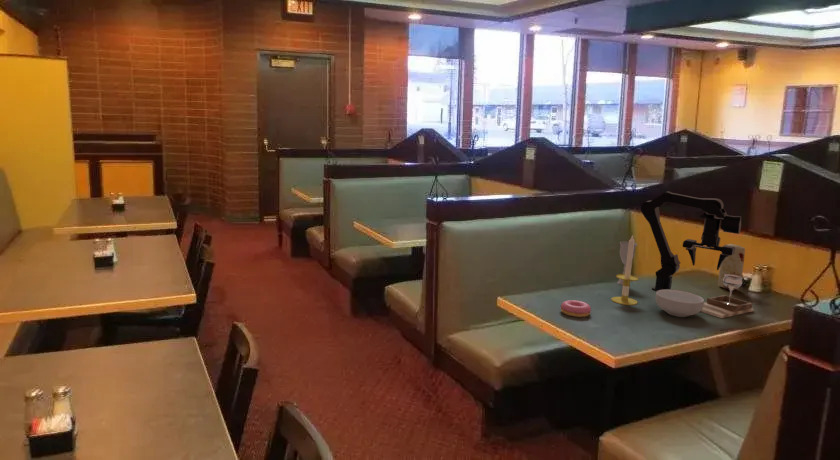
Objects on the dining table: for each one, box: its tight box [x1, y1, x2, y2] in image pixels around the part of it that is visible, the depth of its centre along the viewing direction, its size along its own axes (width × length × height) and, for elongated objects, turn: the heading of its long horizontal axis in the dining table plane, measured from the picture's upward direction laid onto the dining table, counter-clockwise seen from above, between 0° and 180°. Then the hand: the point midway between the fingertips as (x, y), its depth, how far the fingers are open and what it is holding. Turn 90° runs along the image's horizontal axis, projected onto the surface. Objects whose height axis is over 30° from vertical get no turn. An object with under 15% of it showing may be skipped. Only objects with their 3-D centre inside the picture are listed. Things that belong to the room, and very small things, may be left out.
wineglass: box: [723, 274, 744, 306], centre depth 247 cm, size 7×7×12 cm
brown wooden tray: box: [700, 294, 754, 319], centre depth 245 cm, size 21×13×3 cm, turn 123°
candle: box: [610, 234, 639, 306], centre depth 246 cm, size 10×10×27 cm
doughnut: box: [560, 299, 592, 318], centre depth 230 cm, size 11×11×4 cm
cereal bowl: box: [655, 289, 705, 318], centre depth 236 cm, size 17×17×7 cm
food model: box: [717, 243, 746, 292], centre depth 275 cm, size 10×7×20 cm
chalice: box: [617, 241, 638, 286], centre depth 273 cm, size 7×7×18 cm
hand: (705, 267), depth 257 cm, fingers open, 9 cm apart
